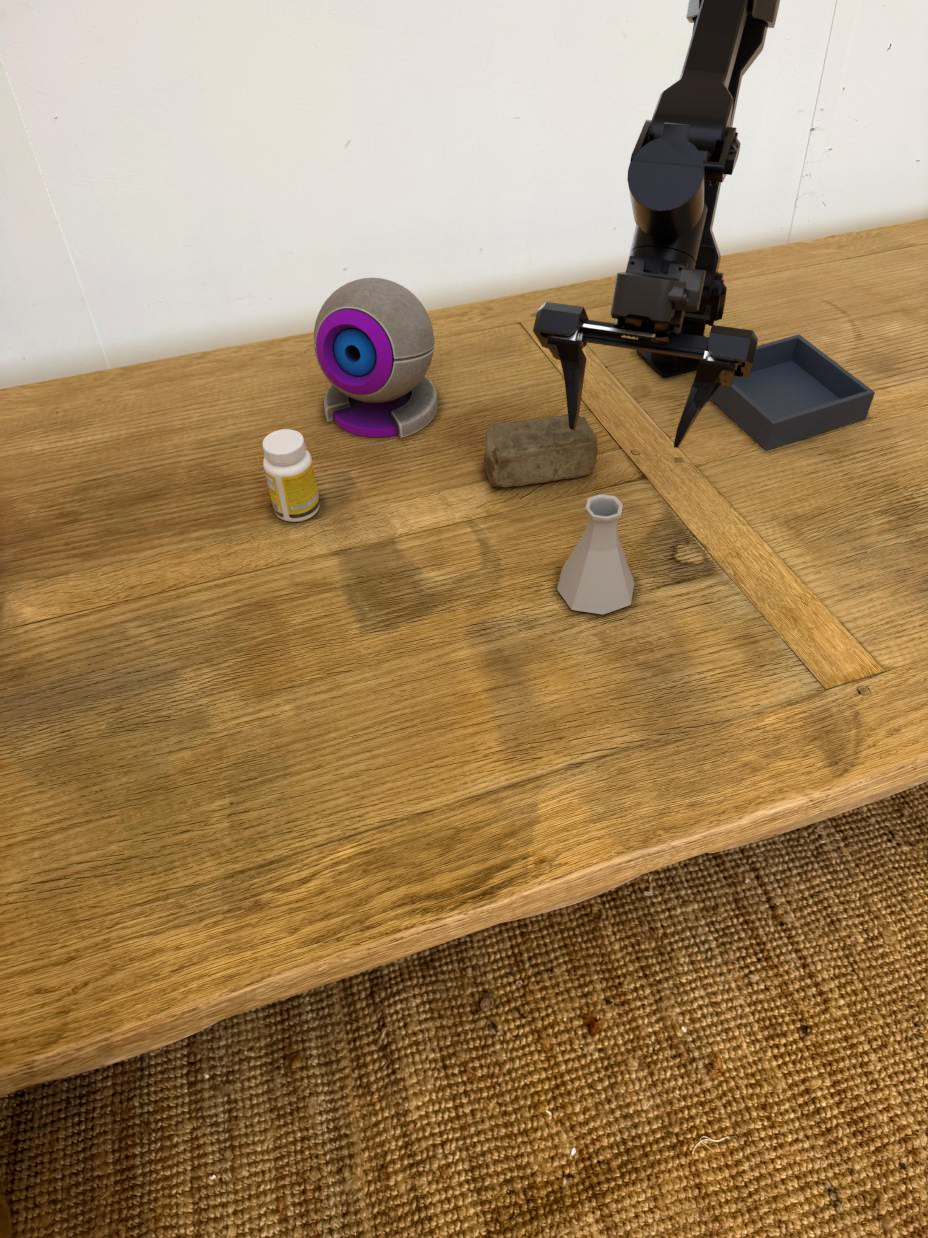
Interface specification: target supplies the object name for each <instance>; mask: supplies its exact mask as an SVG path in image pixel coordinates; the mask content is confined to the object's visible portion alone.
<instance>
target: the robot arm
mask: <svg viewBox="0 0 928 1238" xmlns="http://www.w3.org/2000/svg"><path fill="white" fill-rule="evenodd" d="M780 3H781V0H688V3H687V10H686V16H685V17H686V20H687V21H688V22H689V24H690V23H691V24H693V26H692V33H691V37H690V40H689V41H690V42H689V45H688V48H687V53H686V55H685V59H684V61H683V65H682V69H681V73H680V76H679V79H678V80H677V81H676V82H674V83H673V84H671V85H670V86H669V87H667V88H666V89H664V90H663V91H662V92H661V93H660V94H659V97H658V100H657V103H656V105H655V109H654V111H653V115H652V119H646V120H645V121H644V123H643V126H642V129H641V131H640V133H639V135H638V137H637V140H636V142H635V146H634V148H633V150H632V152H631V156H630V161H629V165H628V167H627V168H628V169H627V186H628V191H629V197H630V198H629V199H630V203H631V209H632V215H633V220H634V223H635V227H634V232H633V237H632V240H631V247H630V250H629V251H630V252H629V255H628V260H627V265H626V269H625V271H621V272H616V277H615V283H614V289H613V296H612V300H611V301H612V302H611V307H610V317H611V319H614V323H613V322H605V321H599V320H592V319H589V316H588V314H587V311H586V309H585V307H584V306H580V305H574V304H566V303H559V302H553V301H552V302H551V301H545V302H544V303H543V304H542V305H541V306H539V308H538V309H537V311H536V313H535V314H536V315H535V319H534V324H533V328H532V332H533V334H534V336H535V337H536V339H537V340H538V342H539V344H540V346H541V347H542V348H545V349H548V350H549V353H550V354H551V355H552V357H553V358H554V359H555V360H558V361H560V365H561V369H562V370H561V371H562V374H563V378H564V388H565V397H566V398H565V399H566V408H567V409H566V410H567V414H568V420H569V428H570V430H575V428H576V424H577V421H578V417H579V416H580V412H581V404H582V396H583V388H584V381H585V374H586V368H587V367H586V366H587V357H586V354H585V352H584V350H583V349H584V348H586V347H587V345H588V344H593V345H594V344H595V345H602V346H608V347H615V348H622V349H628V350H636V353H637V355H638V356H639V357H640V358H641V359H643V360H644V361H645V362H646V363H647V364H648V365H649V366H650V367H651V368H652V369H653V370H654V371H655V372H656V373H657V374H658V375H660V376H661V377H662V378H669V377H673V376H676V375H680V374H684V373H687V372H691V371H694V370H696V372H695V375H694V379H693V382H692V385H691V388H690V391H689V393H688V397H687V399H686V402H685V405H684V407H683V410H682V414H681V416H680V419H679V422H678V424H677V428H676V432H675V437H674V441H673V448H675V449H679V447H680V446H681V444H682V443H683V441H684V439H685V438H686V436H687V434H688V432H689V431H690V429H691V428H692V426H693V424H694V423H695V421H696V419H697V418H698V417H699V415H700V413H701V411H702V410H703V408H704V407H705V406H706V405H707V403H708V402H709V400H711V399H710V398H711V397H712V395H713V394H714V393H715V392H716V390H717V389H718V388H719V387H720V386H721V385H724V386H731V385H732V384H733V379H734V377H736V378H750V373H751V369H752V365H753V360H754V356H755V351H756V347H757V346H758V342H759V338H758V336H757V334H756V333H755V331H754V330H752V329H745V328H738V327H731V326H723V325H717V324H715V322H717V321H720V320H722V319H723V315H724V311H725V306H726V305H725V304H726V298H727V291H728V286H727V285H726V283H725V279H724V272H719V271H720V270H719V269H720V264H721V258H722V255H721V252H720V248H719V246H718V243H717V240H716V238H715V233H714V231H713V227H714V221H715V217H716V211H717V206H718V201H719V197H720V191H721V187H722V183H724V181H725V179H726V177H727V176H728V175H729V176H732V175H733V173H734V169H735V167H736V165H737V162H738V159H739V154H740V149H741V145H742V144H741V141H740V140H739V139H738V137H739V132H738V131H737V127H733V125H734V120H735V115H736V109H737V104H738V100H739V95H740V90H741V84H742V80H743V77H744V75H745V74H746V73H747V71H748V70H749V68H751V66H752V65H753V64H754V62H755V61H756V60H757V58H758V57H759V55H761V53H762V52H763V50H764V48H765V43H766V37H767V33H768V28H769V29H775V26H776V22H777V18H778V13H779V8H780ZM706 325H707V326H709V327H710V330H709V334H708V336H705V332H706V331H705V330H706ZM623 336H625V337H623ZM628 337H630V338H628ZM633 337H634V338H633Z"/></svg>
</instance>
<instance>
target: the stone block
mask: <svg viewBox="0 0 928 1238" xmlns="http://www.w3.org/2000/svg"><path fill="white" fill-rule="evenodd" d="M484 444H485V448H484V456H483V461H482V463H483V467H484V472H485V474H486V475H487V477H488V478H487V479H488V481H489V483H490V485H491V486H492V487H494V488H495V487H498V488H499V487H500V488H510V487H511V488H512V487H524V486H529V485H537V484H544V483H549V482H556V481H560V480H570V479H575V478H581V477H585V476H587V475H589V474H591V473H593V471H594V469H595V465H596V463H597V458H598V437H597V435H596V434H595V431H594V429H593V428H592V426H591V425H590V423H589V422H588V420H587V418H586V417H585V416H580V415H579V417H578V421H577V424H576V428H575V430H570V428H569V420H568V413H567V414H563V415H551V416H545V417H538V418H531V419H525V420H518V421H505V422H502V423H493V424H492V425H488V426H487V427H486V430H485V443H484Z"/></svg>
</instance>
